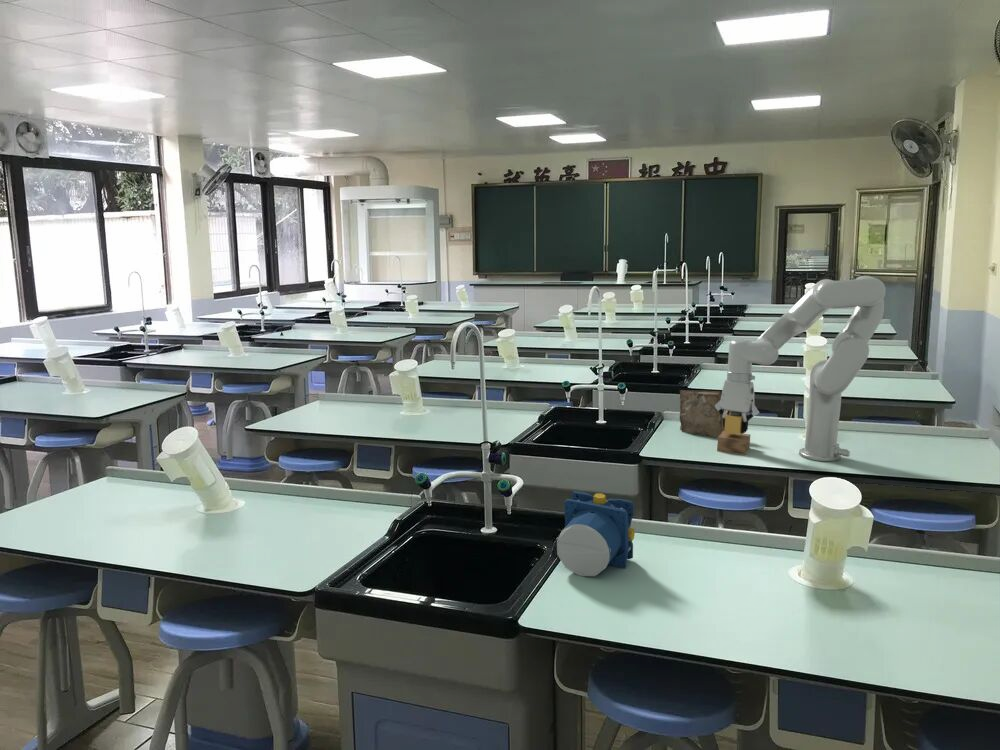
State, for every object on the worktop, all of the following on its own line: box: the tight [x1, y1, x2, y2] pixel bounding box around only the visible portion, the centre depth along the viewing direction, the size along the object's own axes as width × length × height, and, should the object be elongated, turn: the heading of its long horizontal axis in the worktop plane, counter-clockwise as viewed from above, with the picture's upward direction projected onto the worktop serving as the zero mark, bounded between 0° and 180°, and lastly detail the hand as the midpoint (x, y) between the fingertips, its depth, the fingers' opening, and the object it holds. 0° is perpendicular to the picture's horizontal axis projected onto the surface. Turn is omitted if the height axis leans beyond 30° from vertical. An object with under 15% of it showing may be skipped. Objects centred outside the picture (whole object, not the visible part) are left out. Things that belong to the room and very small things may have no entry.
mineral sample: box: [679, 389, 724, 439], centre depth 283 cm, size 18×4×16 cm, turn 59°
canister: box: [724, 411, 744, 435], centre depth 264 cm, size 5×5×7 cm
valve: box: [556, 490, 636, 577], centre depth 171 cm, size 13×15×15 cm
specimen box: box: [716, 431, 751, 456], centre depth 265 cm, size 9×9×5 cm
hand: (735, 430), depth 264 cm, fingers closed on canister, 5 cm apart
